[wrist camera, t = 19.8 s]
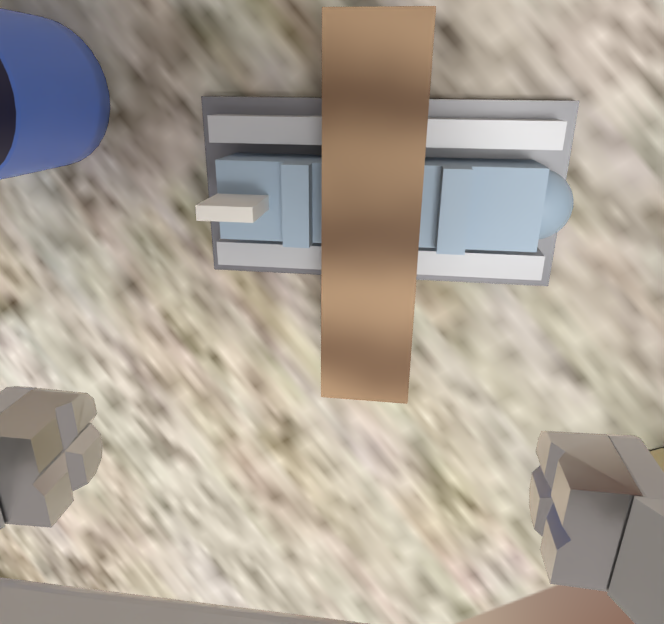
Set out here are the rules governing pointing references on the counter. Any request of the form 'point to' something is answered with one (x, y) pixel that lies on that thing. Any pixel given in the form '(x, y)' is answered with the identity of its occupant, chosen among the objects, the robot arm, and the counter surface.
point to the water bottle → (47, 95)
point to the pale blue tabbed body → (436, 212)
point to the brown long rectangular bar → (372, 194)
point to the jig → (442, 141)
